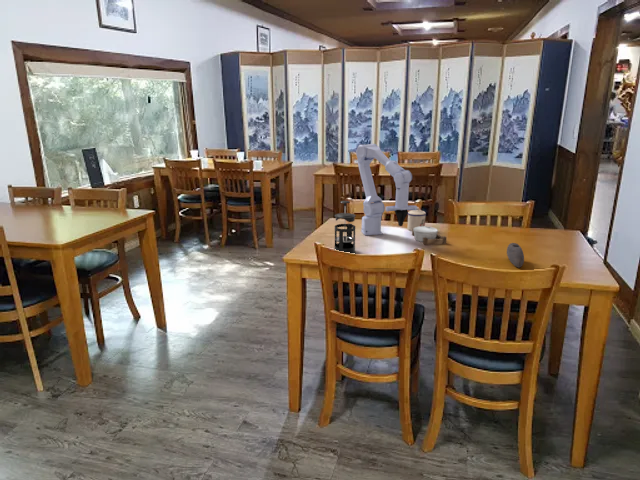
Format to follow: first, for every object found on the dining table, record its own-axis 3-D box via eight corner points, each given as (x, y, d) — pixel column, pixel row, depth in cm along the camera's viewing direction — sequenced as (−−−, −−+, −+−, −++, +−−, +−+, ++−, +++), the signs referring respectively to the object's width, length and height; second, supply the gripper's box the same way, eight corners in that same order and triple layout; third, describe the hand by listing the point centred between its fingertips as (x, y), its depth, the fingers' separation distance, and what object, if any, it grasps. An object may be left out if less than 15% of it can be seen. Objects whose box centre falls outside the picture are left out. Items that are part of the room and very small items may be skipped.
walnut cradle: (424, 245, 203) (424, 238, 202) (411, 235, 218) (412, 228, 217) (446, 243, 204) (446, 237, 203) (432, 234, 220) (432, 227, 219)
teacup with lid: (423, 232, 222) (424, 210, 219) (405, 230, 226) (406, 208, 222) (427, 226, 233) (428, 205, 229) (410, 225, 236) (411, 203, 233)
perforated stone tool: (526, 270, 170) (528, 253, 168) (511, 269, 171) (513, 253, 169) (518, 258, 184) (520, 242, 182) (505, 257, 185) (507, 241, 183)
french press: (350, 257, 186) (351, 204, 179) (329, 255, 190) (329, 202, 183) (359, 250, 196) (360, 199, 190) (340, 247, 200) (340, 197, 194)
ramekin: (441, 239, 211) (442, 229, 209) (428, 244, 203) (429, 233, 202) (421, 235, 218) (421, 224, 217) (408, 240, 211) (409, 229, 209)
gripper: (389, 199, 198) (387, 228, 202) (420, 198, 200) (418, 227, 204) (384, 196, 205) (383, 224, 209) (414, 195, 207) (413, 223, 211)
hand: (400, 225), depth 207 cm, fingers closed
